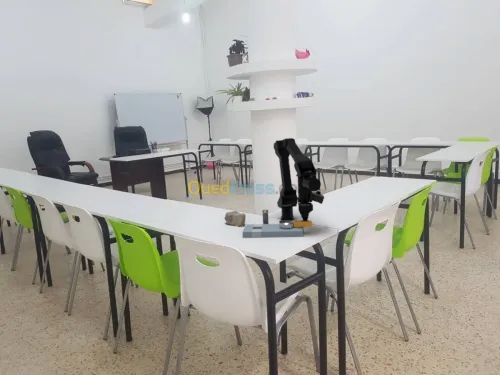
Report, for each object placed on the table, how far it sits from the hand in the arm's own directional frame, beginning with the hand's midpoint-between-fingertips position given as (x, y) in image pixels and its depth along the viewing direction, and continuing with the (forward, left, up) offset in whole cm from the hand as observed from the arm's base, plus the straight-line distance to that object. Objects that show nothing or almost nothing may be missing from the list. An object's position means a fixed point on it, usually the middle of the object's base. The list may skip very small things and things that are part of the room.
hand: (305, 221), depth 176 cm
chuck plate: (+5, -14, -4) cm, 16 cm away
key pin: (-5, -18, -4) cm, 19 cm away
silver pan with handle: (+6, -5, -1) cm, 7 cm away
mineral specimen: (-11, -34, -4) cm, 35 cm away
